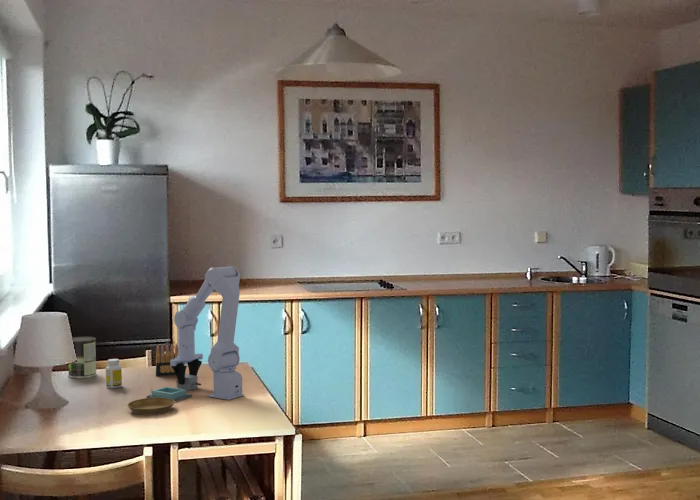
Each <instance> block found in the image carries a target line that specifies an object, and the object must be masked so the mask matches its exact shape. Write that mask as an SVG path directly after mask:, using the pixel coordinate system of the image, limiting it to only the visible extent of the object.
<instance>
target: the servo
mask: <svg viewBox="0 0 700 500" xmlns="http://www.w3.org/2000/svg"><path fill="white" fill-rule="evenodd" d="M198 386H202V383H199V382H198V375H197V376H194V375H189V374H186V373H185V382H184V384H183V385H181V384H179V383H178V380H177V379H176V388H179V389H185V390H187V391H192V390H197V389H198Z"/></svg>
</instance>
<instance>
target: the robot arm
mask: <svg viewBox="0 0 700 500" xmlns="http://www.w3.org/2000/svg"><path fill="white" fill-rule="evenodd" d="M240 279H241V273H240V272H239V271H238V268H237V267H235V266H234V265H228V266H220V267H210V268H209V269H208V270H207V272H206V273H205V274H204V282H203V283H202V285H200V286H201V287H200V288H199V289H198V292H197V294H196V295H192V296H190V297H189V298H188V301H187V303H185V305H184V306H183V308H182V309H181V310H179V311H176V312H175V314H174V316H173V321H174V324H175V327H176V328H177V345H178V356H177V358H175V357H174V359H172V360H170V366H172V368H173V370H174V372H175V374H176V375H175V376H176V381H177V380H178V383H179V384H181V385H183V384H184V382H185V374H186V370H187V368H188V373H189V374H188V375H194V376H197V377H198V374H199V373H198V372H199V369H200V367H201V365H202V363H203V361H202V360H203V359H204V358H203V357H204V355H203V353H196V351H195V350H196V348H195V347H196V346H195V331H196V330H197V329H196V328H197V327H196V326H197V324H198V321H199V318H198V317H199V316H200V314H201V312H202V311H203V310H204V308H205V306H206V300H207V299H208V298H209V296H210V295H211V294H212V293H213V292H214V290H215V292H217V294H219V295H220V296H221V298H222V299H221V307H220V308H221V310H220V317H219V325H218V332H217V341H216V342H215V344H214V345H213V346H212V347H211V348H210V353H209V355H208V357H207V363H208V367H209V368H210V370H211V372H213V374H212V375H213V376H212V377H213V393H211V394H208V395H207V396H208V397H210V398H215V399H222V400H228V401H229V400H235V399H237V398H240V397H242V396H244V395H245V393H243V376H242V373H240V372H239V371H236V370H237V367H238V366H239V363H240V360H241V359H240V352H239V351H240V347H239V346H238V345H237V344H236V343H235V334H236V328H237V327H236V326H237V319H238V312H239V310H238V309H239V302H240V294H241V293H240ZM183 363H184V365H183ZM185 363H186V364H187V365H185Z"/></svg>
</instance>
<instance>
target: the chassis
mask: <svg viewBox="0 0 700 500" xmlns="http://www.w3.org/2000/svg"><path fill="white" fill-rule="evenodd" d="M187 391H188V390H185V389H179V388H177V387H172V386H163V387H160V388H157V389H156V388H155V389H153V390H151V394H147V395H146V398H169V399H172V400H174V401H175V402H178V400H179V401H181V399H182V400H186V399H188V398H191V397H193V396H192V394H191V393H187Z"/></svg>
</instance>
